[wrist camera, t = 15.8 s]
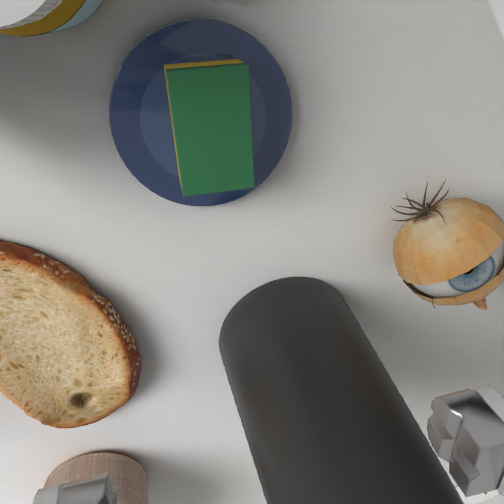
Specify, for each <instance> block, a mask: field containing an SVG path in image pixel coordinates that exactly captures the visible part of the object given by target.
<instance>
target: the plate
mask: <svg viewBox="0 0 504 504" xmlns="http://www.w3.org/2000/svg"><path fill="white" fill-rule="evenodd" d="M230 59H239V60H241V61H242V62H244V63H246V64H248V65H249V80H250V101H251V121H252V142H253V162H254V183H255V187H254V188H248V189H241V190H233V191H225V192H217V193H209V194H202V195H194V196H186V197H184V196H183V193H182V188H181V184H180V179H179V172H178V164H177V157H176V150H175V143H174V136H173V128H172V121H171V114H170V107H169V100H168V92H167V85H166V78H165V71H164V65H166V64H179V63H191V62H204V61H217V60H230ZM109 109H110V125H111V132H112V136H113V139H114V143H115V145H116V148H117V150H118V152H119V155H120V157H121V158H122V160H123V162H124V163H125V165H126V166H127V168H128V169H129V170H130V172H131V173H132V174H133V175H134V176H135V177H136V178H137V179H138V180H139V181H140V182H141V183H142V184H143V185H144V186H145V187H147V188H148V189H149V190H151V191H152V192H154V193H156V194H157V195H159V196H161V197H163V198H165V199H168V200H170V201H173V202H176V203H180V204H184V205H190V206H213V205H219V204H224V203H227V202H230V201H233V200H236V199H238V198H240V197H242V196H244V195H246V194H247V193H249V192H250V191H252V190H254V189H255V188H256V187H257V186H259V185H260V184H261V183H262V182H263V181H264V180H265V179H266V178H267V177H268V176H269V175H270V174H271V172H272V171H273V170H274V168H275V167H276V165H277V164H278V162H279V160H280V159H281V157H282V155H283V153H284V150H285V148H286V145H287V142H288V139H289V135H290V130H291V123H292V105H291V97H290V92H289V88H288V85H287V82H286V79H285V76H284V74H283V72H282V70H281V68H280V66H279V65H278V63H277V61H276V60H275V58H274V57H273V55H272V54H271V53H270V52H269V51H268V50H267V49H266V47H265V46H264V45H263V44H261V43H260V42H259V41H258V40H257V39H256V38H254V37H253V36H251V35H250V34H248V33H247V32H245V31H244V30H242V29H240V28H237V27H235V26H233V25H230V24H227V23H224V22H221V21H215V20H209V19H187V20H180V21H177V22H173V23H170V24H167V25H165V26H163V27H160V28H158V29H156V30H155V31H153V32H152V33H150V34H149V35H147V36H146V37H144V38H143V39H142V40H141V41H140V42H139V43H138V44H137V45H135V47H134V48H133V49H132V50H131V51H130V53H129V54H128V55H127V57H126V58H125V60H124V61H123V63H122V65H121V66H120V69H119V71H118V73H117V76H116V78H115V81H114V84H113V88H112V92H111V98H110V106H109Z"/></svg>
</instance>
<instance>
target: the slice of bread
mask: <svg viewBox="0 0 504 504" xmlns="http://www.w3.org/2000/svg"><path fill="white" fill-rule="evenodd" d="M140 369H141V359H140V356H139V353H138V350H137V347H136V343H135V339H134V337H133V336H132V335H131V333H130V331H129V329H128V327H127V325H126V324H125V323H124V321H123V320H122V319H121V317H120V315H119V314H118V312H117V311H116V310H115V309H114V308H113V306H112V304H111V302H110V301H109V300H108V299H106V298H104V297H103V296H101V295H99V294H97V293H96V292H94V291H93V290H92V289H91V288H90V287H89V286H88V284H87V283H86V281H85V280H84V278H83V277H81V276H80V275H79V274H77V273H75V272H74V271H72V270H71V269H70V268H68V267H67V266H66V265H64V264H62V263H59V262H57V261H55V260H53V259H51V258H49V257H47V256H45V255H44V254H42V253H40V252H37V251H35V250H33V249H31V248H29V247H24V246H20V245H17V244H14V243H12V242H4V241H0V391H1V392H2V393H3V394H4V395H5V396H6V397H7V398H8V399H9V400H11V401H12V402H13V403H14V404H16V405H17V406H19V407H20V408H21V409H23V410H24V411H25V413H26V414H27V415H29V416H31V417H32V418H34V419H36V420H38V421H39V422H41V423H42V424H44V425H49V426H52V427H56V428H60V429H61V428H75V427H79V426H84V425H88V424H91V423H94V422H97V421H99V420H101V419H103V418H105V417H106V416H108V415H110V414H111V413H113V412H114V411H115V410H117V409H118V408H120V407H121V406H122V405H124V404H125V403H126V402H127V401H129V400H130V398H131V397H132V396H133V395H134V393H135V391H136V388H137V386H138V381H139V375H140Z"/></svg>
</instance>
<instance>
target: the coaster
mask: <svg viewBox="0 0 504 504" xmlns="http://www.w3.org/2000/svg"><path fill="white" fill-rule="evenodd" d="M455 488H456V490H457V491H458V493H459V495H460V497H461V499H462V501H463V503H464V504H479V503H481V502H483V501H486V500H488V499H490V498H492V497H494V496H497V495H499V494H500V493H499V492H497V491H498V490H494V491H490V492H485V493H481V494H477V495H473V496H469V497H466V496H465V495H464V493H463V492H462V490H461V489H460V487H459V486H458V487H455Z"/></svg>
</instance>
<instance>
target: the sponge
mask: <svg viewBox="0 0 504 504" xmlns="http://www.w3.org/2000/svg"><path fill="white" fill-rule="evenodd" d="M164 71H165V78H166V85H167V92H168V100H169V107H170V114H171V121H172V128H173V136H174V143H175V150H176V157H177V164H178V172H179V179H180V184H181V188H182V193H183V196H184V197H186V196H194V195H202V194H209V193H217V192H225V191H233V190H241V189H248V188H254V187H255V183H254V162H253V142H252V121H251V101H250V80H249V65H248V64H246V63H244V62H242V61H241V60H239V59H230V60H217V61H204V62H191V63H179V64H166V65H164Z"/></svg>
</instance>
